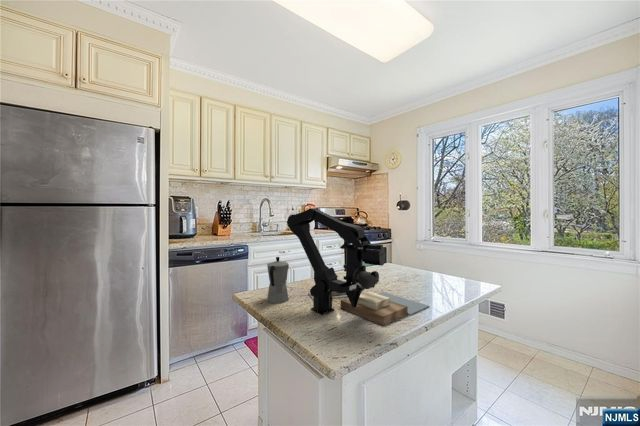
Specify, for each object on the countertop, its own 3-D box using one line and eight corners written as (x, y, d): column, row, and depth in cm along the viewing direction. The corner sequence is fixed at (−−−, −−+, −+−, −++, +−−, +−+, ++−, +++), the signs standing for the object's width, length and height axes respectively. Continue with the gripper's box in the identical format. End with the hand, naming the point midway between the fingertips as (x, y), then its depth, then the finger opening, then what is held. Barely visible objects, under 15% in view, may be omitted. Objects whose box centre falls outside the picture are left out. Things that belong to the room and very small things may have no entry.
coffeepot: (272, 294, 117) (272, 254, 117) (292, 295, 116) (292, 254, 115) (259, 306, 102) (259, 260, 102) (282, 308, 100) (282, 261, 100)
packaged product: (344, 280, 123) (353, 286, 113) (344, 291, 123) (353, 298, 113) (307, 284, 117) (313, 290, 108) (307, 294, 118) (313, 302, 108)
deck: (383, 325, 85) (383, 316, 85) (340, 307, 101) (340, 300, 100) (407, 314, 94) (407, 306, 94) (365, 299, 109) (365, 292, 109)
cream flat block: (375, 310, 90) (375, 302, 90) (354, 302, 98) (354, 295, 98) (390, 304, 95) (390, 298, 95) (368, 297, 103) (368, 291, 103)
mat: (410, 315, 93) (410, 314, 93) (363, 299, 110) (363, 298, 110) (429, 307, 101) (429, 305, 101) (383, 293, 118) (383, 291, 118)
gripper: (352, 270, 79) (352, 322, 79) (390, 262, 90) (389, 307, 90) (327, 264, 87) (327, 311, 87) (365, 257, 99) (365, 299, 99)
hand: (354, 307), depth 91 cm, fingers closed
